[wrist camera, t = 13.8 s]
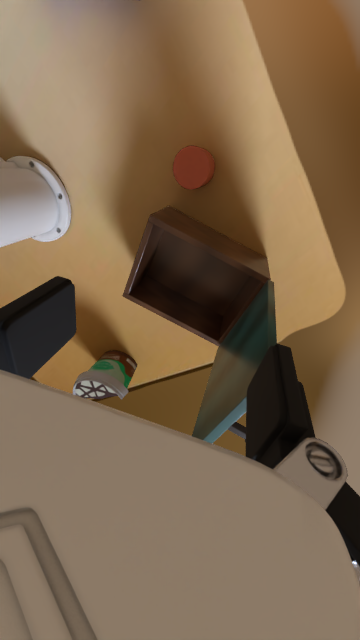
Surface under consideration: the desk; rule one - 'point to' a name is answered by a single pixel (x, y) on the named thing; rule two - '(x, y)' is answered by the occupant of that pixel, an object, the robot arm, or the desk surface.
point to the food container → (106, 377)
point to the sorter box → (194, 275)
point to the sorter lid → (237, 368)
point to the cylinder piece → (193, 167)
